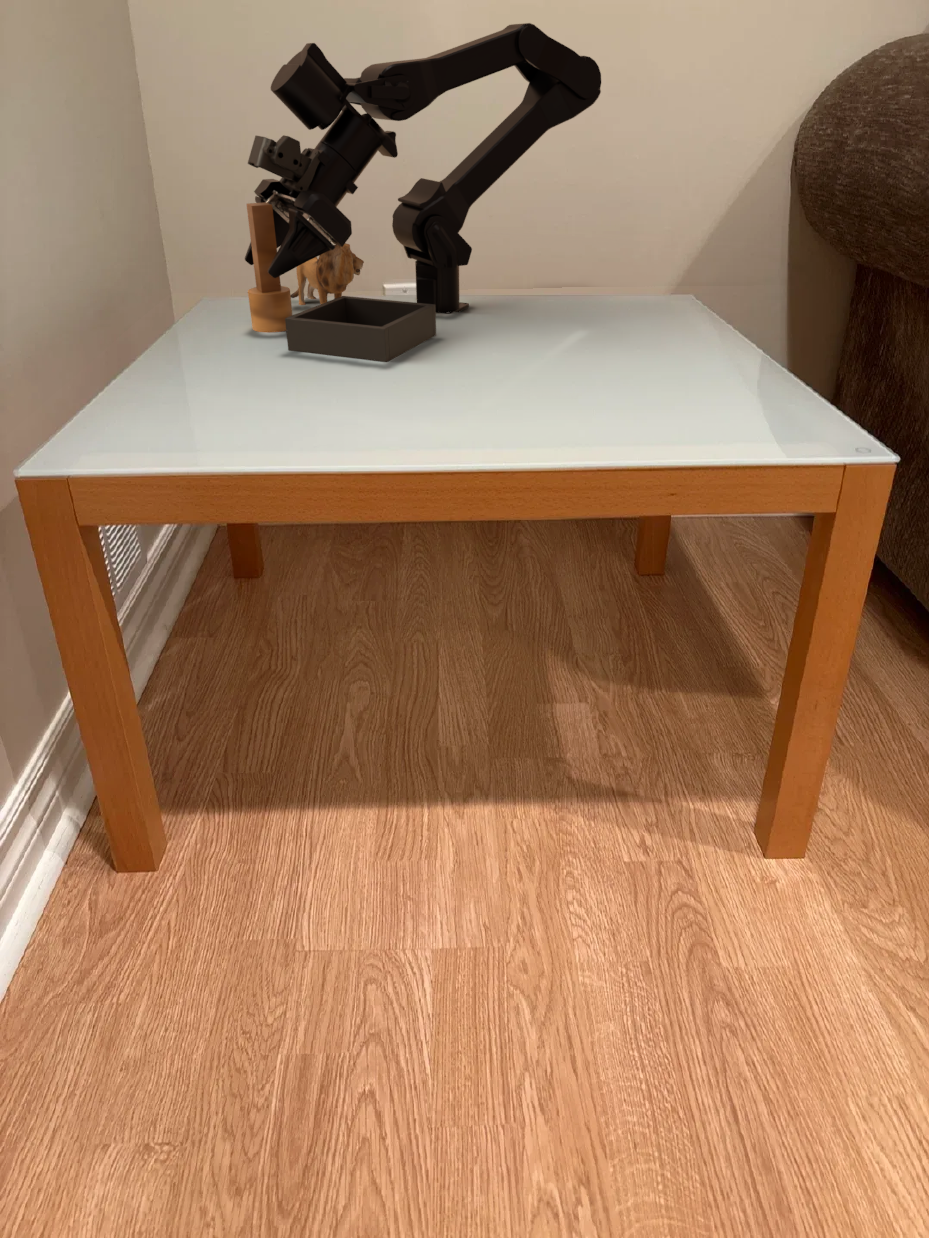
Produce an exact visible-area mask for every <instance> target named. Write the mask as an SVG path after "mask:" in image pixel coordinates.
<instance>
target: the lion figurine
mask: <svg viewBox="0 0 929 1238" xmlns="http://www.w3.org/2000/svg"><path fill="white" fill-rule="evenodd" d="M333 245H334V246H335V249H334V250H329V251H327V252H325V253H323V254H321V255H319V256H317V257H315V258H313V259H311V260H309V261H307V262H305V263H303V264H301V265H299V266H297V267H296V279H297V285H298V287H297V289H296V291H294V292H292V293H290V295H291V299H296V298H297V297H298V305H299V306H305V305H307V303H306V302H305V287H306V283H307V281H308V284H307V294H306V295H307V299H309V300H315V299H317V297H316V296H314V291H315V290H317V292H318V299H319V303H320V304H323V303H325V302H328V295H329V294H330V295H333V299H336V298H338V297H341V296H343V293H344V292H345V291H346V290H347V286H348V285H349V284H351V283H352V282H353V280H354V277H355V275H356V276H360V275H361V269H363V268H364V267H363V266H364V263H365V261H364V260H363V259H362V258H360V257H358V256H357V255H356V253H354V252H353V251H352V249H351V244H349V243H347V242H346V243H345V244H344V245H343V247H341V246H338V245H336V244H333ZM320 304H319V305H320Z"/></svg>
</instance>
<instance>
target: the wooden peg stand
mask: <svg viewBox="0 0 929 1238" xmlns="http://www.w3.org/2000/svg"><path fill="white" fill-rule="evenodd" d="M246 211H247V220H248V221H247V222H248V227H249V236H250V242H251V246H252V254H253V263H254V264H253V271H254V279H255V287H251V288H248V290H247V296H248V303H249V311H250V312H249V313H250V320H251V325H252V326H251V328H252V330H253V331H255V332H258V333H259V332H260V333H281V332H285V331H286V323H285V318H287V317H290V316H292V315H293V305H292V298H291V288H290V287H288V286H284V285H281V276H279V277H277V278H273V277H272V276H271V275H270V274H269V273H268V269H269V267H270V265H271V263H272V261H273V259H274V257H275V255H276V253H277V252H278V248H277V246H276V236H275V227H274V218H273V208H272V205H271V204H269V203H267V202H264V203H256V202H251V203H249V202H248V203H246Z"/></svg>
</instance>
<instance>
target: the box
mask: <svg viewBox="0 0 929 1238" xmlns="http://www.w3.org/2000/svg"><path fill="white" fill-rule="evenodd" d="M285 323H286V333H285V334H286V341H287V350H288V351H290V352H299V353H306V354H315V355H324V356H332V357H340V358H348V359H355V360H365V361H372V362H380V363H388V362H389V361H391V360H393V359H394V358H397V357H398V356H400V355H402V354H404V353H406V352H408V351H410V350H412V349H413V348H415V347H417V346H419V345H421V344H423V343H425V342H426V341H428V340H430V339H432V338H434V337H436V336H437V313H436V305H435V304H424V303H417V302H412V301H403V300H391V299H381V298H369V297H361V296H360V297H358V296H349V295H342V296H341V297H338V298H336V299H334V298H333V299H331V300H329V301H328V300H327V302H325V303H323V304H317V305H315V306H313V307H310V308H307V309H305V310H303V311H300V312H298V313H295V314H292V316H290V317H287V318H285Z"/></svg>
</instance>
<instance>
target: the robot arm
mask: <svg viewBox="0 0 929 1238" xmlns="http://www.w3.org/2000/svg"><path fill="white" fill-rule="evenodd" d="M513 67H515V69H516V70H517V71H518V73H519V74H520V75H521V76H522V78H523V80H525V81H526V82H527V83H528V85H527V88H526V91H525V93H524V96H523V98H522V101H521V103H520V104H518V106H517V107H516V108H515V109H514V110H512V111H511V113H509V114H508V116H506V118H504V120H503V121H501V122H500V123H499V125H497V127H495V128H494V129H493V130H492V131H491V133H489V134H488V135H487V136H486V137H485V138H484V139H483V140H482V141H481V142H480V143H479V144H477V146H476V147H474V149H473V150H472V151H471V152H470V153H469V154H468V155H467V156H466V157H465V158H464V159H462V161H461V162H459V164H458V165H456V166H455V168H454V169H452V170H451V172H449V173H448V174H447V176H445V177H444V178H443V179H441V180H440V181H438V180H433V179H428V178H421V177H420V178H418V180H417V181H416V182H415V183H414V185H413V186H412V187H411V189H410V190H409V191H408V192H407V193H406V194H404V195H402V196H399V197H398V198H397V201H398V202H400V203H399V205H398V206H397V207H396V208H395V210H394V211H393V213H392V224H391V226H392V233H393V235H394V237H395V239H396V240H397V242H398V243H399V244H401V245H402V246H403V248H404V251H405V254H406V257H407V258H408V259H411V260H415V262H414V263H415V294H416V303H424V304H435V305H436V314H445V315H450V314H453V313H461V312H462V311H464V310H466V309H468V308H470V303H469V302H461V301H460V267H461V266H462V267H463V266H468V265H469V262H470V258H471V254H472V251H473V248H472V246H471V245H470V244H469V243H468V242H467V241H466V239H464V238H463V237H462V235H461V234H460V231H461V230H462V228H463V227H464V224H465V221H466V219H467V216H468V213H469V211H470V209H471V207H472V205H474V203H476V201H477V200H479V199H480V197H481V196H483V195H484V194H485V193H486V192H487V191H488V189H490V188H491V187H492V186H493V185H494V184H495V183H496V182H497V181H498V180H499V179H500V178H501V177H502V176H503V175H504V174H505V173H506V172H507V171H509V169H510V168H511V167H513V165H514V164H515V163H517V161H518V160H520V158H521V157H522V156H523V155H524V154H525V153H526V152H527V151H529V149H530V148H532V147H533V146H534V145H535V143H537V141H538V140H540V139H541V138H542V137H543V136H544V135H545V134H546V133H547V132H548V131H549V130H550V129H552V128H555V127H557V126H559V125H561V124H563V123H566V122H568V121H569V120H572V119H575V117H577V116H579V115H580V114H581V113H583V112H584V111H587V109H589V108H590V107H591V106H593V105H594V104H595V103H596V102H597V100H598V99H599V97H600V96H601V93H602V90H601V86H602V73H601V70H600V67H599V65H598V63H597V62H596V60H595V59H593V58H592V57H591V56H587V55H579V54H578V53H577V52H576V51H575V50H573V49H572V48H570V47H569V46H567V45H565V44H563V43H561V42H559V41H557V40H556V39H554V38H552V37H551V36H549V35H547V34H546V33H545V32H544V31H543V30H541V28H539V27H538V26H537V25H535V24H533V23H531V22H525V23H513V24H512V23H511V24H508V25H507V26H506V27H504V28H503V29H501V30H499V31H496V32H493V33H490V34H488V35H485V36H482V37H479V38H476V39H474V40H471V41H469V42H468V41H467V42H465V43H463V44H460V45H458V46H455V47H452V48H450V49H447V50H443V51H441V52H439V53H435V54H433V55H430V56H427V57H422V58H414V59H413V58H412V59H405V60H394V61H386V62H379V63H373V64H370V65H368V66H366V67H365V68H364V69H363V70H362V72H361V73H360V77H356V78H355V77H353V78H352V77H351V78H350V77H343V76H342V75H341V74H340V72H339V71H338V70H337V69H336V68H335V66H333V65H332V64H331V62H330V60H328V59H327V57H326V55H325V54H324V52H323V51H322V49H321V48H320V47H319V46H318V44H317V43H315V42H308V43H306V44H305V45H304V46H303V48H302V49H301V50H300V51H298V52H297V53H296V54H294V56H293V57H292V58H291V59H290V60H289V61H288V62H287V63H286V64H283V65H282V66H281V67H280V69H278V71H277V73H276V74H275V76H274V78H273V79H272V82H271V85H270V91H271V92H272V93H273V94H274V95H275V96H276V98H278V99H279V101H281V103H282V104H283V105H284V106H286V108H287V109H288V110H289V111H290V112H291V113H292V114H293V115H294V116H295V117H296V118H297V119H298V120H299V121H300V123H302V124H303V125H304V127H305V128H306V129H307V130H308V131H311V130H314V129H317V128H319V130H320V131H325V130H326V129H327V128H328V129H327V131H326V132H325V133H324V135H323V136H322V137H321V139H320V140H319V141H318V143H317V144H316V145H315V147H314V148H312V147H308V148H304V149H303V150H302V149H301V142H300V141H299V140H297V139H295V138H294V137H291V136H289V135H285V134H284V135H282V136H281V137H280V138H279V139H278V140H277V141H276V140H274V139H271V138H268V137H267V136H266V137H265V136H261V135H255V136H254V139H253V142H252V146H251V149H250V153H249V156H248V160H247V165H249V166H251V167H253V168H256V169H258V168H260V169H262V170H265V171H266V172H269V173H271V174H274V175H276V176H278V177H281V178H280V179H279V180H278V179H274V178H265V179H262V180H261V181H260V183H259V184H258V185H257V187H256V188H255V190H253V193H254V194H255V195H256V196H255V197H254V203H264V202H267V203H269V204H271V205H272V208H273V218H274V227H275V236H276V246H277V253H276V255H275V257H274V259H273V261H272V263H271V265H270V267H269V269H268V273H269V274H270V275H271V276H272V277H273V278H277V277H279V276H280V277H281V276H282V275H285V274H287V273H288V272H290V271H292V270H294V269H295V268H297V266H299V265H301V264H303V263H305V262H307V261H309V260H311V259H313V258H315V257H317V258H318V257H319V255H321V254H323V253H325V252H327V251H329V250H334V249H335V246H334V245H338V246H341V247H343V245H344V244H345V243H346V244H347V242H348V240H349V239H350V237H351V236H352V234H353V231H352V230H353V229H352V220H350V219H349V218H348V217H347V216H346V215H345V214H344V213H343V212H342V211H341V210H340V209H339V208H338V207H339V204H340V203H341V201H342V200H343V199H344V198H345V196H347V194H350V195H354V194H355V192H356V191H357V190H358V188H359V186H358V185H357V184H356V181H357V180H358V178H359V177H360V176H361V175H362V173H363V171H365V169H366V168H367V166H368V165H369V163H370V162H371V161H372V160H373V158H374V157H375V156H376V154H377V153H378V152H379V154H380V155H382V156H383V157H388V158H393V159H394V158H397V157H398V154H399V153H398V147H397V142H396V140H397V139H396V138H397V133H396V131H394V130H393V131H392V130H384V129H383V128H382V126H381V125H380V124H379V123H378V122H377V121H376V120H384V121H393V122H394V121H395V122H401V121H406V120H408V119H410V118H412V117H414V116H415V115H417V114H418V113H420V112H421V111H423V110H424V109H426V108H428V107H429V106H430V105H432V103H433V102H434V101H436V100H437V98H438V97H439V96H441V95H443V94H445V93H446V92H449V91H451V90H454V89H456V88H459V87H461V86H464V85H466V84H469V83H472V82H475V81H477V80H480V79H483V78H486V77H488V76H491V75H493V74H495V73H499V72H501V71H503V70H507V69H509V68H513ZM354 105H358V106H361V108H362V110H363V111H364V112H365V113H363V114H361V113H360V112H359V111H358V110H357V109H356V108H355V107H354ZM375 119H376V120H375ZM244 261H245V262H246V263H247V264H249V265H250V266H254V263H253V254H252V246H251V241H250V242H249V245H248V248H247V251H246V253H245V255H244Z"/></svg>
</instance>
